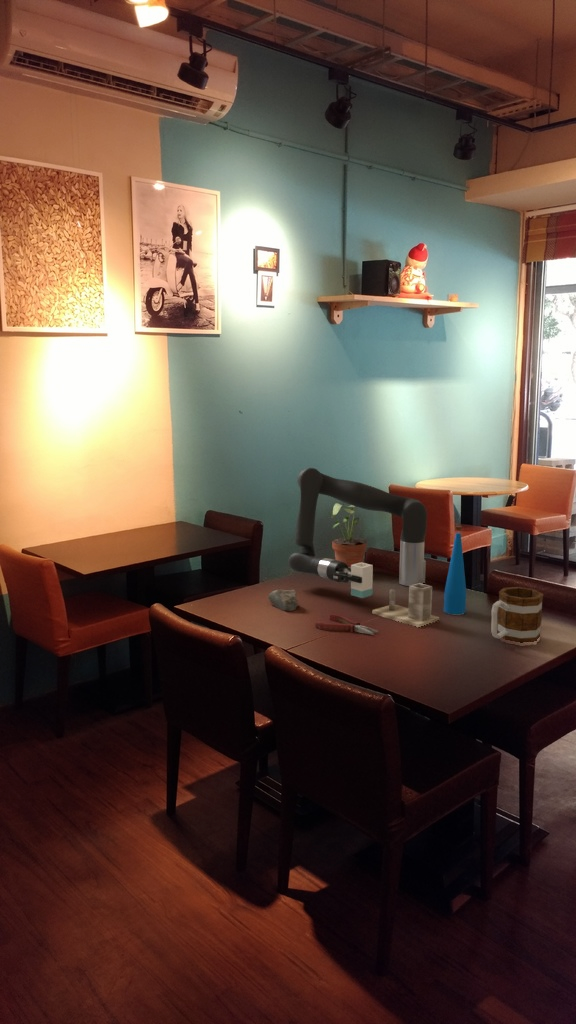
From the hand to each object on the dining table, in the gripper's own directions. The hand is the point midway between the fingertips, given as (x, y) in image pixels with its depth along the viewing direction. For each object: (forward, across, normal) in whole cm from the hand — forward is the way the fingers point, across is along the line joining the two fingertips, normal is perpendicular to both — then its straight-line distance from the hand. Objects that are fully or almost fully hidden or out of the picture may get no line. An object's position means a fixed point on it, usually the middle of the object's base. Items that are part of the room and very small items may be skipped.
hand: (367, 578), depth 276 cm
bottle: (+24, +18, +11) cm, 32 cm away
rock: (-20, -21, +10) cm, 31 cm away
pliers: (+11, -24, +11) cm, 28 cm away
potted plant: (-37, +29, +11) cm, 48 cm away
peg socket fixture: (+16, +1, +10) cm, 19 cm away
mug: (+53, +8, +11) cm, 55 cm away
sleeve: (-3, 0, +6) cm, 7 cm away
